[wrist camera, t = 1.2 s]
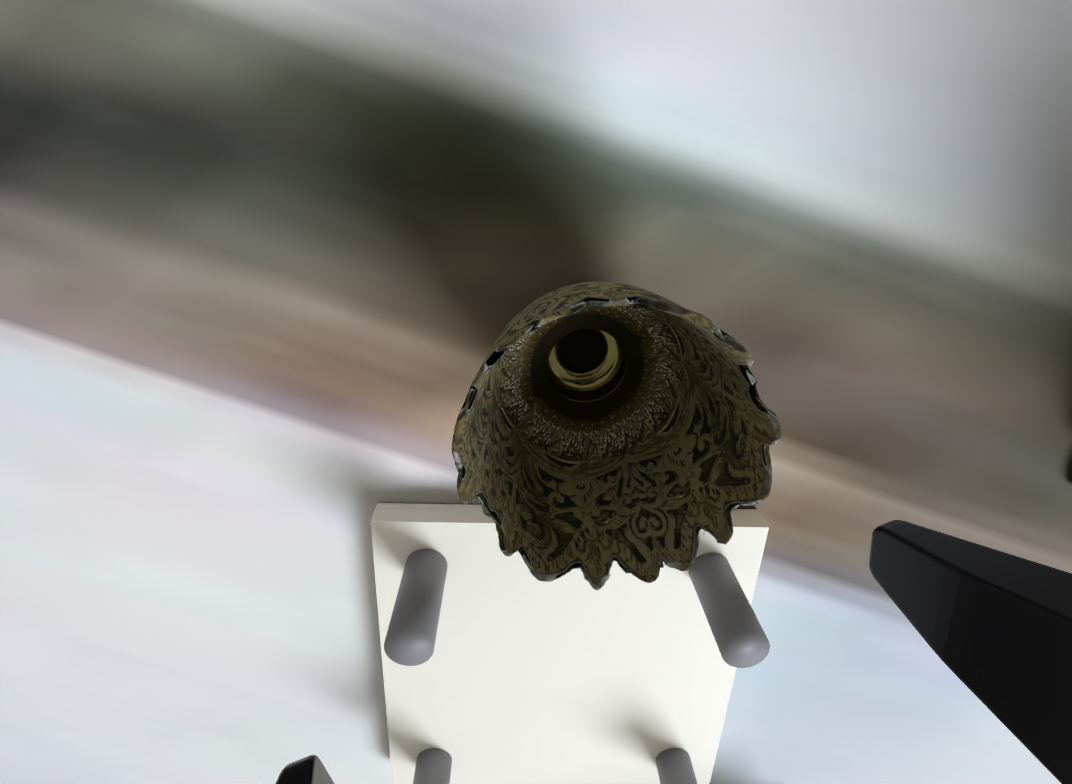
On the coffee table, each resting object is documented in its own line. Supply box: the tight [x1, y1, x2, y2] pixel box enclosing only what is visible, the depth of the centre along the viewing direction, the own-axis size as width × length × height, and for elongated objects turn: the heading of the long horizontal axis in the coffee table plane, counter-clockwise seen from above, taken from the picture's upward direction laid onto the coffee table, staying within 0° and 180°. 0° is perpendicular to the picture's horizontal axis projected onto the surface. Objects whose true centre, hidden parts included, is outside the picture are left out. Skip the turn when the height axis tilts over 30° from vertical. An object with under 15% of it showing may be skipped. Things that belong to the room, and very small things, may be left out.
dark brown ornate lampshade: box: [452, 281, 782, 590], centre depth 17 cm, size 8×7×8 cm
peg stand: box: [370, 503, 770, 784], centre depth 24 cm, size 15×15×5 cm
